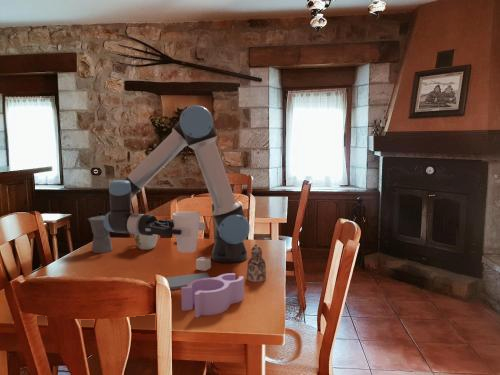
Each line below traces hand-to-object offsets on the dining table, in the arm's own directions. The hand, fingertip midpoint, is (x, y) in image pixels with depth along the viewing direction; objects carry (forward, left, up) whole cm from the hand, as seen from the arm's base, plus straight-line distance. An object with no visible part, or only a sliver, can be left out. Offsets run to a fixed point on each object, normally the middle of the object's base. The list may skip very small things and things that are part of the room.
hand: (198, 229), depth 139 cm
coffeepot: (+30, -58, -20) cm, 68 cm away
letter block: (-6, -16, -20) cm, 26 cm away
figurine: (-21, +2, -20) cm, 29 cm away
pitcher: (+11, -57, -20) cm, 61 cm away
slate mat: (+3, -3, -19) cm, 20 cm away
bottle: (-25, -51, -20) cm, 60 cm away
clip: (0, +19, -20) cm, 27 cm away
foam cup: (+3, -3, -8) cm, 9 cm away
